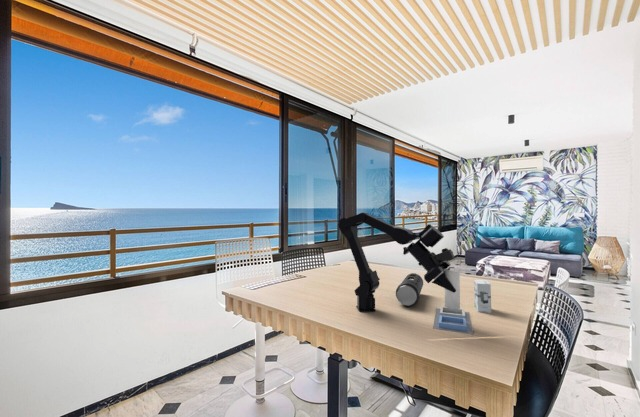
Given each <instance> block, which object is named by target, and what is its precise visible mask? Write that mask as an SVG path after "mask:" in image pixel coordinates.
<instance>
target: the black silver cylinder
mask: <svg viewBox="0 0 640 417" xmlns="http://www.w3.org/2000/svg"><path fill="white" fill-rule="evenodd" d="M423 287H424V280H423V278H422V276H421V275H420V274H417V273H414V272H413V273H409V274H407V275H406V276H405V278H404V279H403V280H402V282H401V283H399V284H398V286H397V288H396V290H395V296H396V299H397V301H398V302H399V303H400V304H402V305H404V306H406V307H407V306H409V307H412V306H414V305H416V304H417V303H418V301H419V300H420V297H421V292H422V289H423Z"/></svg>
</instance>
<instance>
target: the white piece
mask: <svg viewBox="0 0 640 417" xmlns="http://www.w3.org/2000/svg"><path fill="white" fill-rule="evenodd" d="M445 271H446V277H447V278H448V280H449V281H450V282H451V284H452V285H453V286H454V288H455V289H456V292H451V291H449V290H447V289H445V288H444V307H446V308H449V309H461V289H460V288H461V286H460V284H461V282H460V281H461V280H460V279H461V278H460V277H461V276H460V274H461V273H460V270H455V269H450V270H445Z"/></svg>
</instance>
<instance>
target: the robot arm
mask: <svg viewBox="0 0 640 417" xmlns="http://www.w3.org/2000/svg"><path fill="white" fill-rule="evenodd" d="M363 224H366V225H367V226H370V227H372V228H374V229H376V230H378V231H380V232H382V233H384V234H386V235H387V236H389V237H390V238H391V239H392V241H394V242H396V243H397V244H398V245H401V246H402V245H403V246H404V245H408V244H409V245H408V246H404V247H403V249H402V250H403V253H402V255H403V256H406V255H408V254H410V255H411V256H412V257H413V258H414V259H415V260H416V261H417V265H419V266H420V267H422V268H424V270H426V273H425V274H424V275H423V276H424V277H423V278H424V281H426V283H427V284H430V283H432V284H434V285H436V286H439V287H442V288H444V290H445V289H447V290H449V291H451V292H456V289H455V288H454V286H453V285H452V284H451V282H450V281H449V280H448V278H447V277H446V271H445V270H451V263H450V262H449V261H451V260H453V259H454V258H456V257H455V255H454V252H453V250H452V249H451V248H450V249H449V248H448V247H445V248H443V249H441V252H440V253H437V254H436V253H435V252H431V251H430V250H429V249H428V248H429V247H430V248H434V246H436V245H437V244H438V243H439V242H440V241H441V240H443V238H444V237H445V236H444V235H443V233H442V232H441V231H440V230H439V229H437V228H436V227H434V226H433V225H432V224H426V226H425V227H424V228H423V229H422V231H421V232H418V233H416V232H414V231H413V230H411V229H408V228H405V227H401V226H397V225H393V224H391V223H388V222H387V221H384V220H383V219H380V218H379V217H376V216H373V215H372V214H369V213H368V212H360V213H358V214H356V215H352V216H349V217H342V218H340V219H339V221H338V223H337V227H338V229H339V231H340V233H341V234H342V236H343V237H344V238H345V239H346V240H347V243H348V245H349V247H350V248H349V249H350V251H351V254H352V257H353V259H354V262H355V264H356V267H357V269H358V282H359V285H358V286H357V287H356V288H355V289H354V293H355V296H357V298H356V303H357V305H356V309H357V310H358V312H375V311H376V298H375V295H374V294H375V292H376V290H377V289H379V286H380V280H381V278H380V277H379V276H378V272H377V270H376V269H375V270H372V268H370V265H369V262H368V259H367V257H366V255H365V252H364V249H363V246H362V244H361V241H360V238H359V236H358V233H359V232H358V230H359V229H358V227H359V226H361V225H363ZM413 241H416V242H413ZM432 280H433V281H432Z"/></svg>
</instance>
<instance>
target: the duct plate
mask: <svg viewBox="0 0 640 417" xmlns="http://www.w3.org/2000/svg"><path fill="white" fill-rule="evenodd" d="M472 325H473V324H472V320H471V316H470V312H469V311H465V308H460V309H449V308H446V307H445V306H440V308H437V307H436V308H435V314H434V319H433V325H432V329H434V330H439V331H440V330H441V331H446V332H452V333H461V334H467V335H468V334H469V335H474V330H473V326H472Z"/></svg>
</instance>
